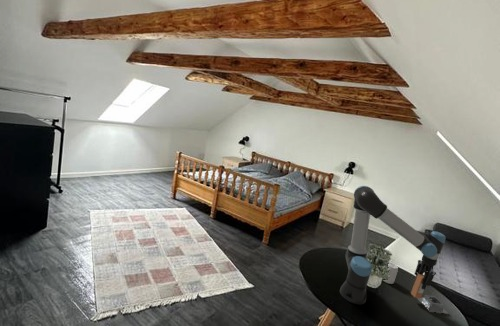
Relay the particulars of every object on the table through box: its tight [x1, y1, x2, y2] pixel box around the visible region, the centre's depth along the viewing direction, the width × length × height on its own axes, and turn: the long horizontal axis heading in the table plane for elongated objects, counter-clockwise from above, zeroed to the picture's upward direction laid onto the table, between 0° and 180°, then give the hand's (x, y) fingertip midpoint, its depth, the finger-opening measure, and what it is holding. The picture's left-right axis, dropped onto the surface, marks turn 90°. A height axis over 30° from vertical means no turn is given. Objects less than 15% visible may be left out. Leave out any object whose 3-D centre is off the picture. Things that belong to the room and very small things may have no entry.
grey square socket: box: [416, 294, 449, 315], centre depth 173 cm, size 12×12×4 cm
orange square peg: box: [410, 274, 424, 299], centre depth 173 cm, size 4×4×14 cm
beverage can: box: [382, 262, 399, 285], centre depth 192 cm, size 8×8×12 cm
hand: (417, 290), depth 173 cm, fingers closed on orange square peg, 4 cm apart
